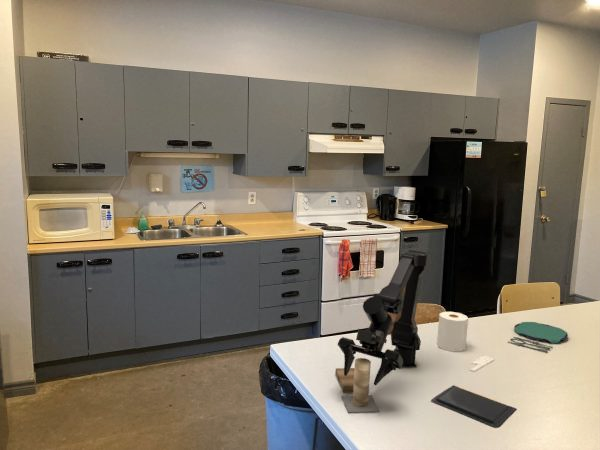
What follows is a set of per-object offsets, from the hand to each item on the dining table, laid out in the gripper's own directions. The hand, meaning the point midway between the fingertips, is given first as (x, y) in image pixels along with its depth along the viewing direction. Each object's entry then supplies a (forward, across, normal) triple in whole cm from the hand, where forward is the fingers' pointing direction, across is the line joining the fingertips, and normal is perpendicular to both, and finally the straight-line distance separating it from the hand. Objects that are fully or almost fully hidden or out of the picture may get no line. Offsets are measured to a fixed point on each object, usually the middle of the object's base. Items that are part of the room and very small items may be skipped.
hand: (359, 379), depth 136 cm
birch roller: (+4, 0, +6) cm, 8 cm away
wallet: (-8, +27, +21) cm, 35 cm away
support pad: (+5, 0, +7) cm, 8 cm away
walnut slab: (-2, -8, +14) cm, 16 cm away
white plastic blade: (-30, +21, +42) cm, 56 cm away
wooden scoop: (-38, -15, +49) cm, 64 cm away
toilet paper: (-37, +9, +49) cm, 62 cm away
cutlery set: (-59, +34, +72) cm, 99 cm away
